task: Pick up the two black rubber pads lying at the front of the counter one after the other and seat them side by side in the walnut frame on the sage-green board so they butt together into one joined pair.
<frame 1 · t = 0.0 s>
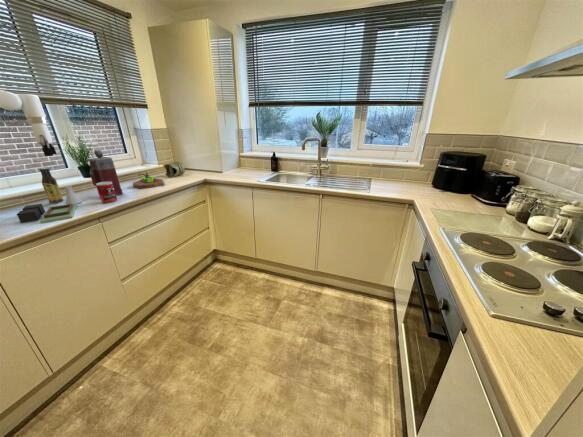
hand: (51, 155, 130), 27 cm above the countertop, tool pointing down, fingers open, 9 cm apart
black pad 2: (36, 214, 122), on the countertop
plant: (149, 185, 176), on the countertop
joiner board: (60, 214, 122), on the countertop
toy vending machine: (110, 195, 152), on the countertop
piston: (175, 176, 204), on the countertop
black pad 1: (31, 219, 115), on the countertop
flask: (74, 203, 139), on the countertop
sauce bottle: (57, 202, 142), on the countertop
canned food: (109, 201, 141), on the countertop
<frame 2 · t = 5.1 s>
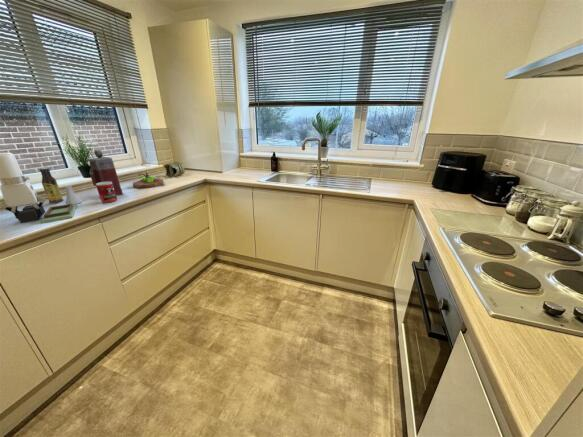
hand: (30, 217, 115), 1 cm above the countertop, tool pointing down, fingers closed on black pad 1, 6 cm apart
black pad 1: (31, 219, 115), on the countertop, touching gripper
everything else where it was.
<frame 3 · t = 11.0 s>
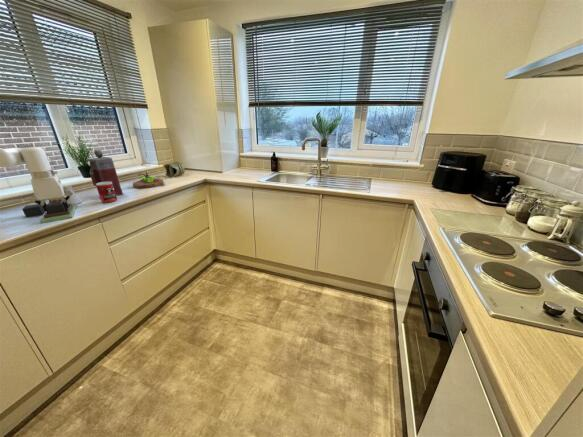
hand: (57, 210, 118), 3 cm above the countertop, tool pointing down, fingers closed on black pad 1, 6 cm apart
black pad 1: (58, 212, 119), point 2 cm above the countertop, touching gripper
everything else where it was.
when the fingers open (4 cm above the countertop, at t = 19.4 s): black pad 1 drops 1 cm, resting on joiner board.
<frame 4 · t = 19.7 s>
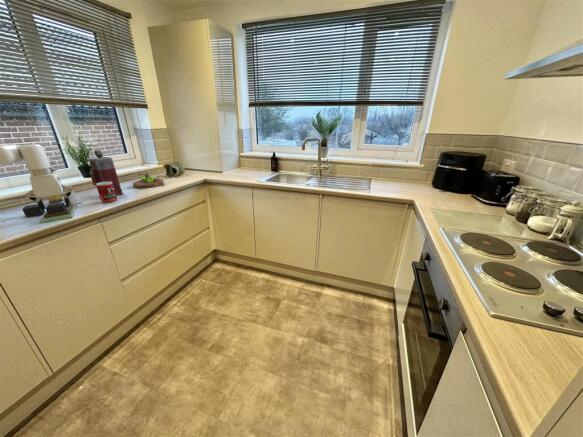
hand: (56, 207, 118), 5 cm above the countertop, tool pointing down, fingers open, 8 cm apart
black pad 1: (58, 213, 119), point 1 cm above the countertop, touching joiner board
everything else where it was.
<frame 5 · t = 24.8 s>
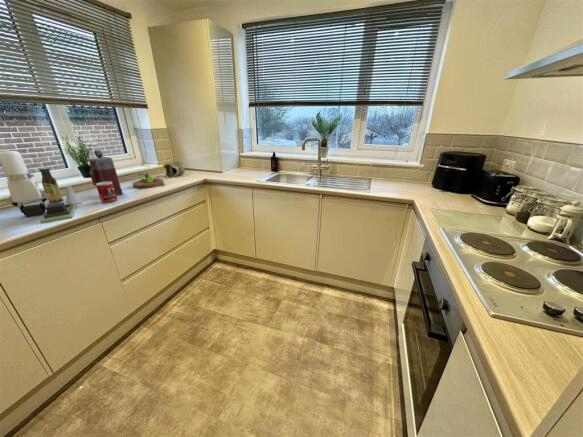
hand: (35, 212, 121), 1 cm above the countertop, tool pointing down, fingers closed on black pad 2, 6 cm apart
black pad 2: (36, 214, 122), on the countertop, touching gripper
everything else where it was.
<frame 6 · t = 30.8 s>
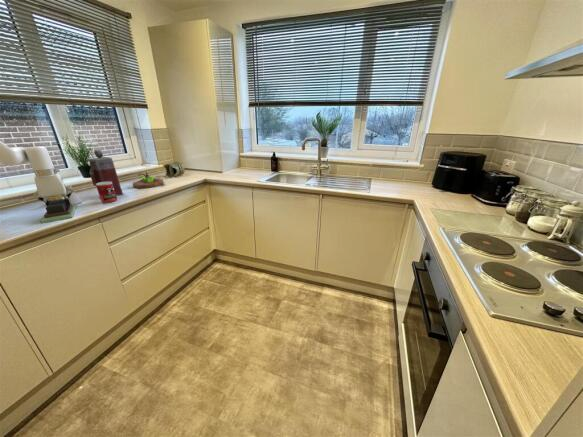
hand: (59, 207, 123), 3 cm above the countertop, tool pointing down, fingers closed on black pad 2, 6 cm apart
black pad 2: (60, 209, 124), point 2 cm above the countertop, touching gripper
everything else where it was.
when the fingers open (4 cm above the countertop, at t = 39.1 s): black pad 2 drops 1 cm, resting on joiner board.
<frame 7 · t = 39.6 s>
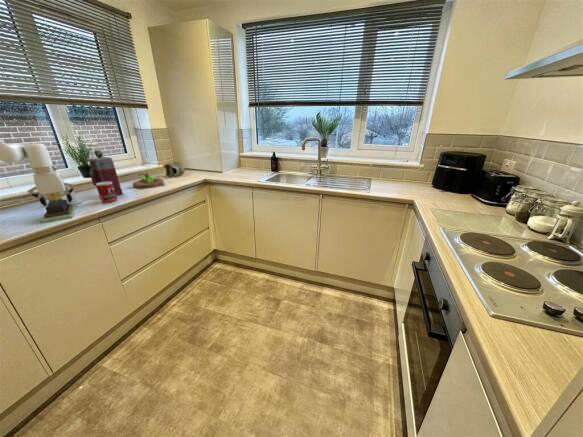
hand: (58, 203, 122), 5 cm above the countertop, tool pointing down, fingers open, 9 cm apart
black pad 2: (60, 210, 124), point 1 cm above the countertop, touching joiner board
everything else where it was.
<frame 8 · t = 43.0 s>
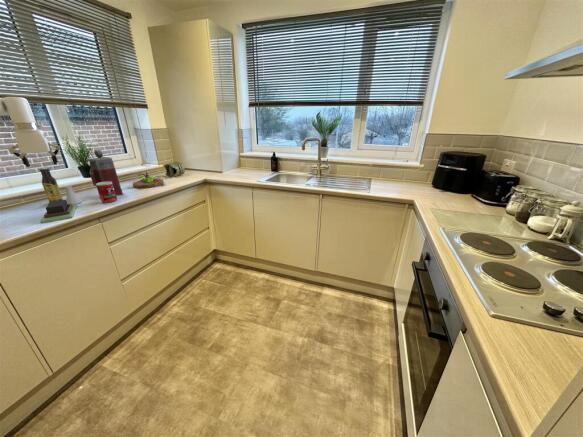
hand: (42, 165, 115), 24 cm above the countertop, tool pointing down, fingers open, 9 cm apart
nothing on the countertop moved.
at the end: black pad 1 0.1 cm from the target spot on the joiner board, point 1.2 cm above the joiner board's base; black pad 2 0.1 cm from the target spot on the joiner board, point 1.2 cm above the joiner board's base; black pad 2 6.4 cm from the black pad 1 (horizontally) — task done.
